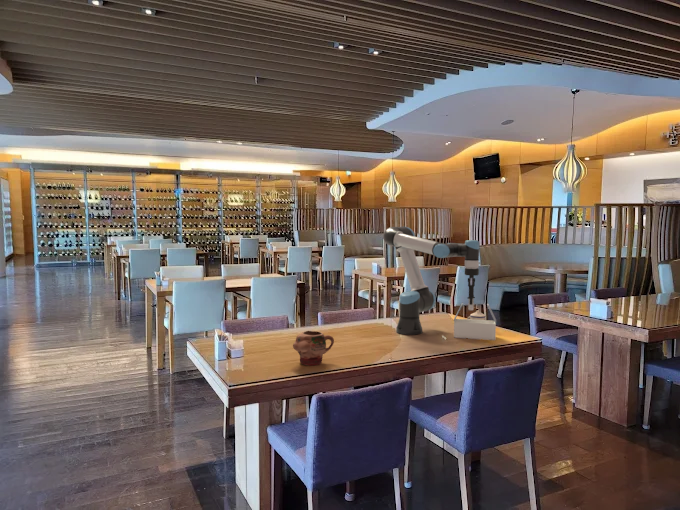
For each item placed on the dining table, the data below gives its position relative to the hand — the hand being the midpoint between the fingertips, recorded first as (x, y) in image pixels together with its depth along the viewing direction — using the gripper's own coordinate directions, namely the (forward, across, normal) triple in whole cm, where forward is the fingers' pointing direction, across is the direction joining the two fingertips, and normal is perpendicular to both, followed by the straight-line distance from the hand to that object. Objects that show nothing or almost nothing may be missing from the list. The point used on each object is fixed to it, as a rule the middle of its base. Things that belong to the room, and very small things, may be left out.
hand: (470, 309), depth 267 cm
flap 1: (+1, 0, +7) cm, 7 cm away
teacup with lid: (+16, +20, -2) cm, 26 cm away
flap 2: (+1, 0, -11) cm, 11 cm away
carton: (+15, 0, -2) cm, 15 cm away
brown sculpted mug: (+16, -71, +67) cm, 99 cm away
